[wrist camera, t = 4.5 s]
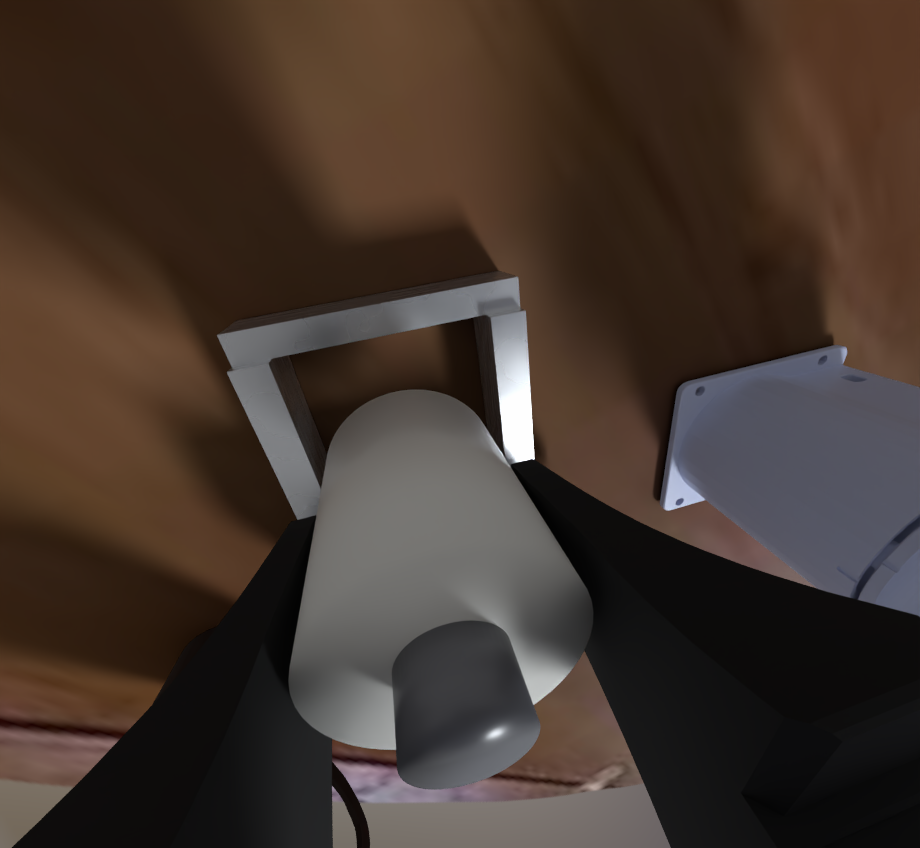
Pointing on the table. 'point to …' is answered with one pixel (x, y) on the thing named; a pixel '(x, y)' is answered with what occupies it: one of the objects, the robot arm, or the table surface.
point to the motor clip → (290, 332)
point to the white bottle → (432, 596)
